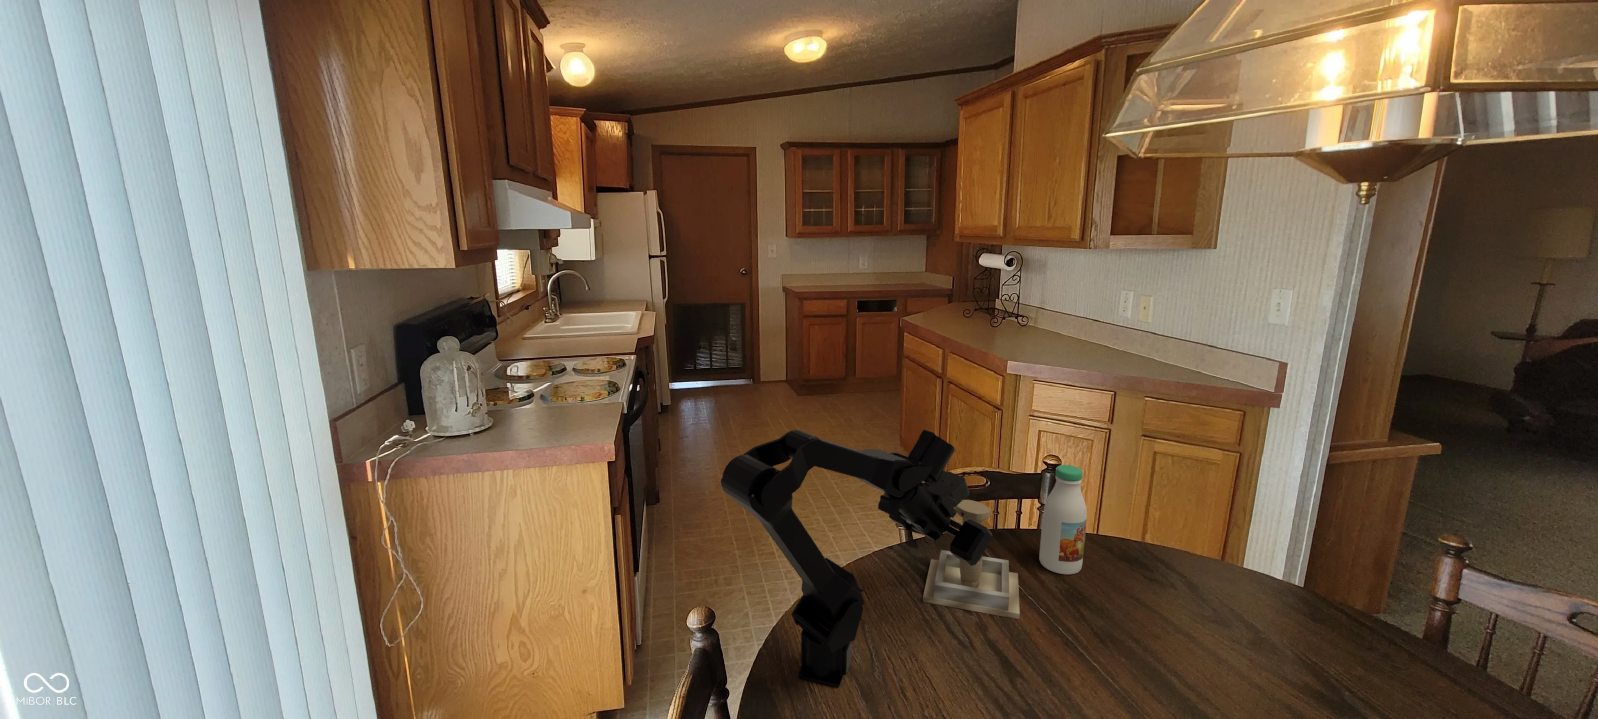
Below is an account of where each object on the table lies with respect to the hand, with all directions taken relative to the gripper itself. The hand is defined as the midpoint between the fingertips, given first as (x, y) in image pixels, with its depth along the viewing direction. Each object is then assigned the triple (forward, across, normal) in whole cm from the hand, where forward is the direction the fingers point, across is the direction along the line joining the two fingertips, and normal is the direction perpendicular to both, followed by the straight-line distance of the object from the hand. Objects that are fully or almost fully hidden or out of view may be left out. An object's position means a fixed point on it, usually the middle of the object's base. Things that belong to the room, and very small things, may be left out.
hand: (959, 546), depth 107 cm
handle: (+9, 0, +4) cm, 10 cm away
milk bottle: (+25, -4, -11) cm, 27 cm away
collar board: (+10, 0, +4) cm, 11 cm away
